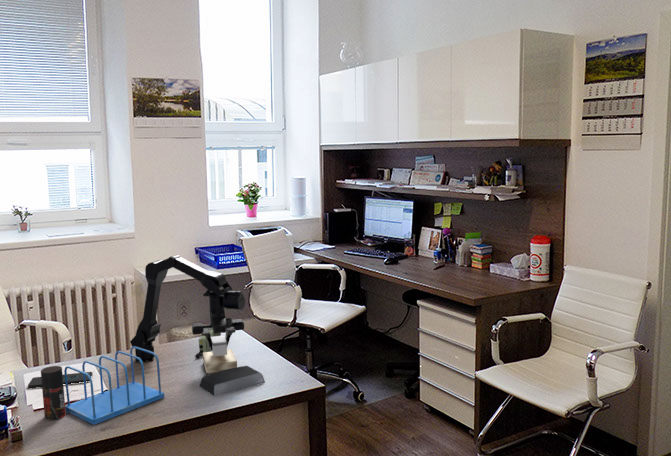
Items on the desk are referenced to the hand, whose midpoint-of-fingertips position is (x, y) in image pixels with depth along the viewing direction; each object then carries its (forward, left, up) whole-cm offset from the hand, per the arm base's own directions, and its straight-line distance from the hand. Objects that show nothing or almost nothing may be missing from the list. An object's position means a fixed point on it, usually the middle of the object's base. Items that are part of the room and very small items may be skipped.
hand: (218, 348), depth 228 cm
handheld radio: (-2, +23, -8) cm, 25 cm away
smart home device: (-55, +5, -8) cm, 56 cm away
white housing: (0, 0, -1) cm, 1 cm away
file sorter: (-35, -23, -7) cm, 43 cm away
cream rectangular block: (0, 0, -7) cm, 7 cm away
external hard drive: (+2, -18, -8) cm, 20 cm away
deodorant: (-53, -26, -7) cm, 59 cm away
